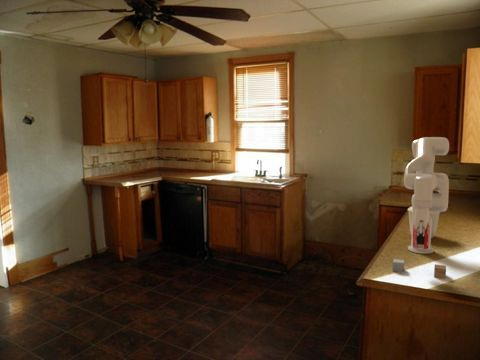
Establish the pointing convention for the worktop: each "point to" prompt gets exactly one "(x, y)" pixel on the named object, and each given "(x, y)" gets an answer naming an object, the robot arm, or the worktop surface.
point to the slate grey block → (398, 265)
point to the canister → (434, 218)
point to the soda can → (426, 241)
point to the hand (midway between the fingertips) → (420, 241)
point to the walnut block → (440, 271)
